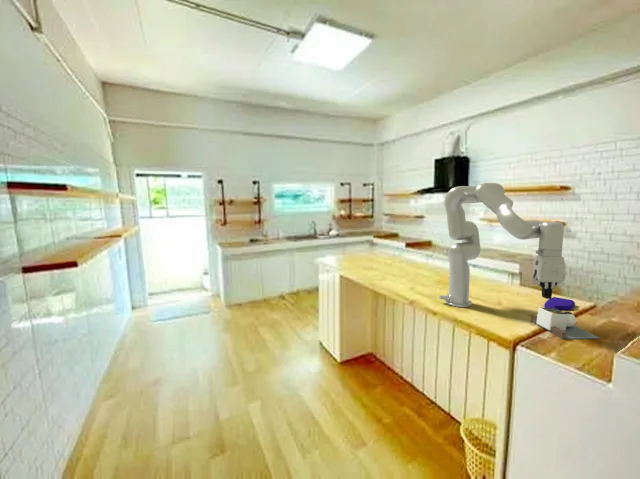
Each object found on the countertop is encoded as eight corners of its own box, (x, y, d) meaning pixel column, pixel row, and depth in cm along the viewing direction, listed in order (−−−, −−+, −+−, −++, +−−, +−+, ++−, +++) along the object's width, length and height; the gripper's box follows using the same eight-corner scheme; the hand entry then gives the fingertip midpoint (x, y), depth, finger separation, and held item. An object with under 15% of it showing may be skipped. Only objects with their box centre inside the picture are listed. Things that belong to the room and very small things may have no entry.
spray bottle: (550, 296, 162) (535, 307, 146) (577, 300, 153) (564, 313, 138) (550, 301, 162) (535, 313, 146) (577, 306, 154) (564, 319, 138)
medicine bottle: (538, 307, 130) (564, 307, 131) (535, 323, 130) (561, 324, 132) (552, 313, 123) (580, 314, 124) (549, 330, 123) (577, 331, 125)
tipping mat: (562, 339, 118) (562, 332, 117) (531, 321, 136) (531, 315, 135) (599, 338, 117) (600, 332, 117) (563, 320, 135) (564, 315, 135)
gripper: (537, 255, 119) (533, 301, 122) (576, 254, 119) (572, 300, 121) (524, 251, 127) (521, 295, 129) (561, 251, 126) (558, 294, 129)
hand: (546, 297), depth 125 cm, fingers closed
